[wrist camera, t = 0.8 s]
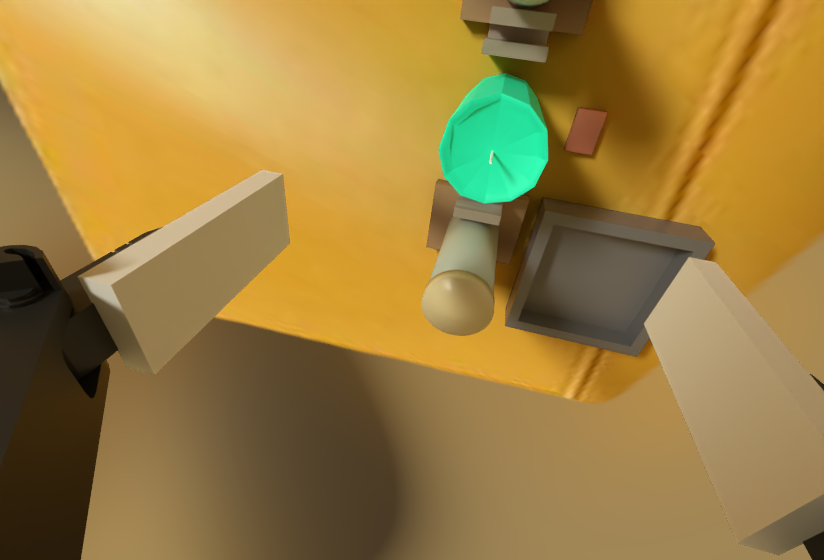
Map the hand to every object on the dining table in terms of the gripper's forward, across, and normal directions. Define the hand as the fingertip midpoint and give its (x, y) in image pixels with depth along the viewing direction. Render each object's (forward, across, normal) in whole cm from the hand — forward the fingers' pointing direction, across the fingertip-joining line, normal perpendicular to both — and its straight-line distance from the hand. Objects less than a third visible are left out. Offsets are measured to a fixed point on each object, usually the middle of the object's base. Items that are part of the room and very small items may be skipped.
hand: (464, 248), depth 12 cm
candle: (+21, 0, 0) cm, 21 cm away
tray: (+20, +12, -12) cm, 26 cm away
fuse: (+19, 0, -9) cm, 21 cm away
